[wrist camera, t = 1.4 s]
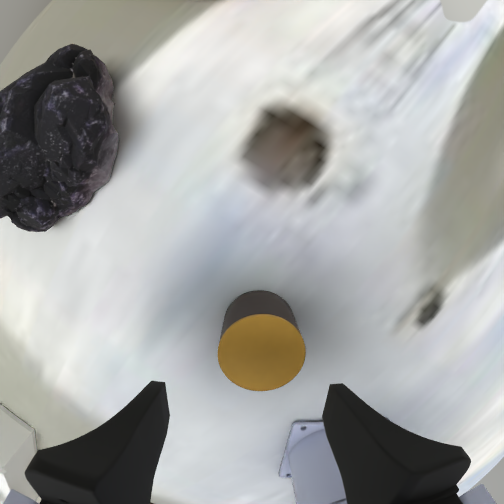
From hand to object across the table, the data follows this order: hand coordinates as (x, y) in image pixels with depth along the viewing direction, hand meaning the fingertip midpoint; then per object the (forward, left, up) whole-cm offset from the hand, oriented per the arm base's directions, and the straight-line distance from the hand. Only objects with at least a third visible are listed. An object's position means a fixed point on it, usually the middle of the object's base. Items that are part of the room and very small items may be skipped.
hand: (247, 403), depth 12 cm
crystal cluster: (+16, -12, -10) cm, 22 cm away
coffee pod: (-1, 0, -10) cm, 10 cm away
